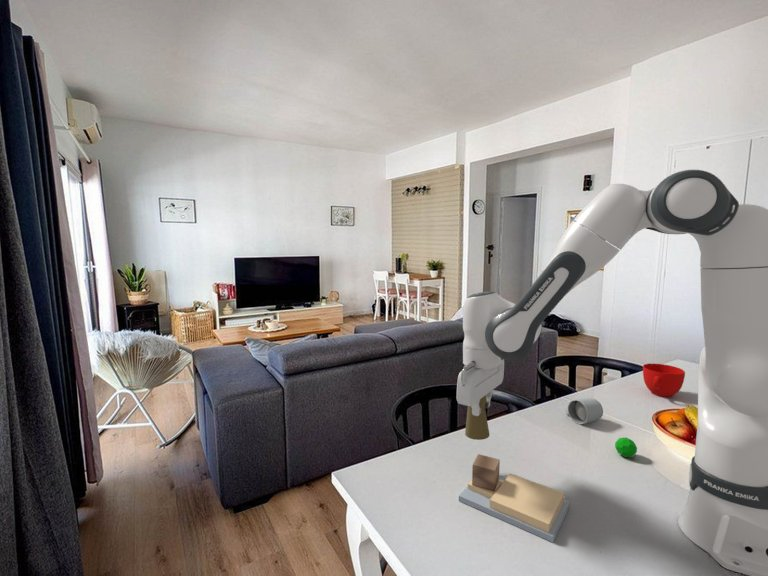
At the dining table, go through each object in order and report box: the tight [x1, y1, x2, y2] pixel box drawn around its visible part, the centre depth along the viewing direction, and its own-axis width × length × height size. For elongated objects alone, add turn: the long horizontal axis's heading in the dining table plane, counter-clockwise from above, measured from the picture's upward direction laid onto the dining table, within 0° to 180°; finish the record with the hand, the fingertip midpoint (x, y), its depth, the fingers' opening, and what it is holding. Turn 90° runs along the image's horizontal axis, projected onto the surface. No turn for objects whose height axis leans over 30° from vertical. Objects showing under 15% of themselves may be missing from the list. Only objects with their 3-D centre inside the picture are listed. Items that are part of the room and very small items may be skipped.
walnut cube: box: [471, 453, 501, 492], centre depth 89 cm, size 5×5×5 cm
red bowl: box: [642, 363, 686, 398], centre depth 146 cm, size 13×17×10 cm
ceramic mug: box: [565, 397, 604, 425], centre depth 127 cm, size 11×8×8 cm
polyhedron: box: [614, 437, 638, 458], centre depth 105 cm, size 5×5×5 cm
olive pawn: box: [464, 395, 490, 441], centre depth 98 cm, size 6×6×11 cm
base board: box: [458, 473, 570, 543], centre depth 86 cm, size 20×13×3 cm, turn 52°
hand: (481, 410), depth 97 cm, fingers closed on olive pawn, 4 cm apart
